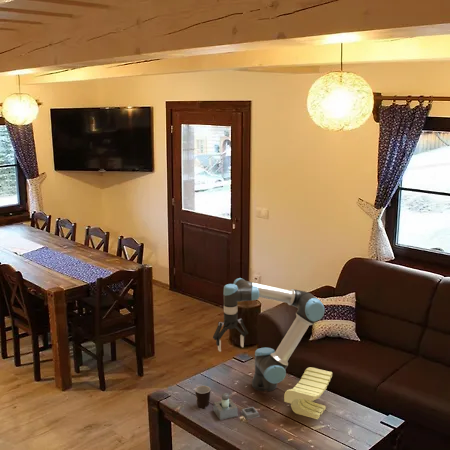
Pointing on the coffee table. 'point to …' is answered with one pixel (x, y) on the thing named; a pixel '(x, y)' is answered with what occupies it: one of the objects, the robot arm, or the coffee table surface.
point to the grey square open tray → (250, 413)
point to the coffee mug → (202, 396)
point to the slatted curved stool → (309, 392)
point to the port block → (225, 410)
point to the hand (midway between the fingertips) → (230, 348)
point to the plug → (225, 400)
